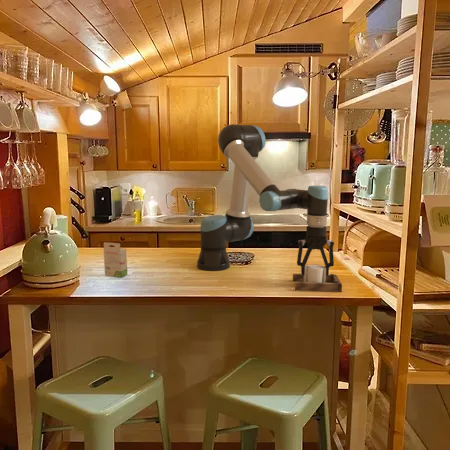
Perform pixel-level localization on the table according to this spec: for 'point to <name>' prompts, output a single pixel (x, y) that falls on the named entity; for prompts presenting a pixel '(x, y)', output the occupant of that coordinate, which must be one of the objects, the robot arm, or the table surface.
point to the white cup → (314, 273)
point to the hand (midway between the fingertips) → (314, 282)
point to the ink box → (115, 260)
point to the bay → (317, 284)
